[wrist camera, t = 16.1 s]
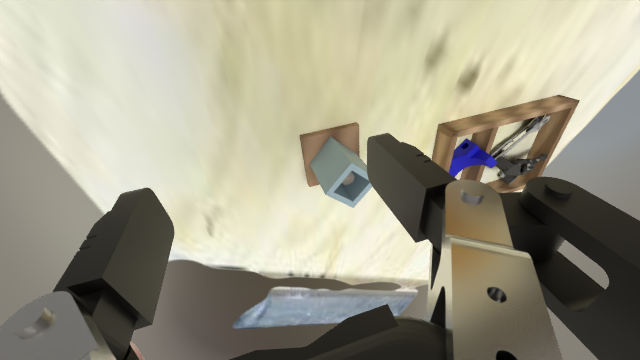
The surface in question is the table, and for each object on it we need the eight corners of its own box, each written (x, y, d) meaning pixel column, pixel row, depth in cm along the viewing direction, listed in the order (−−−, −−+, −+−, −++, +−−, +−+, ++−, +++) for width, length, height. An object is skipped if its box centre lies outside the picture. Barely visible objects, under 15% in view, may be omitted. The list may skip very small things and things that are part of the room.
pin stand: (356, 122, 43) (378, 143, 37) (357, 170, 49) (376, 195, 43) (299, 135, 42) (313, 159, 35) (307, 183, 48) (320, 211, 41)
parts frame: (559, 94, 54) (579, 100, 51) (522, 175, 67) (536, 184, 64) (438, 124, 49) (453, 132, 46) (423, 206, 62) (433, 216, 58)
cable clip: (466, 138, 53) (488, 152, 48) (475, 148, 55) (497, 162, 51) (423, 179, 57) (439, 195, 52) (433, 187, 59) (450, 203, 55)
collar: (330, 136, 42) (351, 162, 35) (354, 152, 45) (378, 179, 38) (309, 163, 44) (325, 194, 37) (334, 177, 47) (353, 207, 40)
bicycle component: (545, 107, 52) (483, 159, 56) (580, 129, 49) (511, 181, 53) (535, 128, 62) (483, 170, 66) (564, 147, 58) (507, 190, 63)
